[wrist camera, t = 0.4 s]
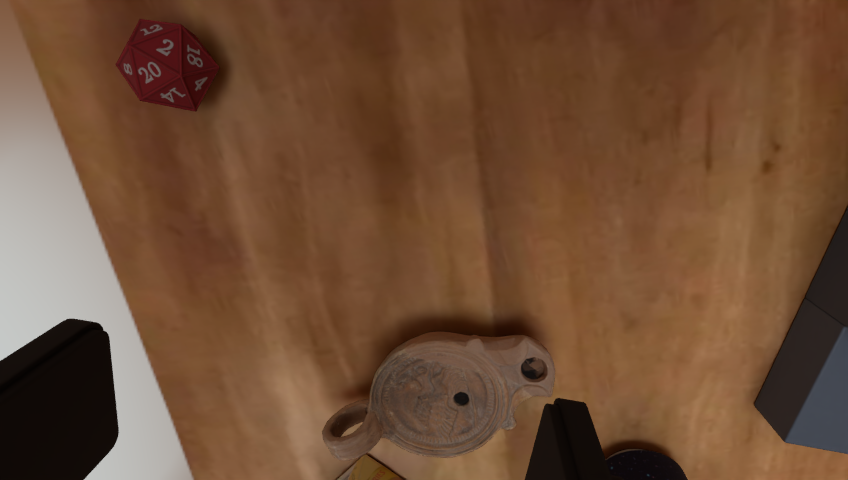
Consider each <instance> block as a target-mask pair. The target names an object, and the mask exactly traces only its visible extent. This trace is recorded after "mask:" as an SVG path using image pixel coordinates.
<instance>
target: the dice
mask: <svg viewBox="0 0 848 480" xmlns="http://www.w3.org/2000/svg"><path fill="white" fill-rule="evenodd" d="M116 66H117V67H118V69H119V70H120V72H121V73H122V75H123V76H124V78H125V79H126V81H127V82H128V84H129V85H130V86H131V88H132V89H133V91H134V92H135V94H136V95H137V97H138V98H139V100H140V101H145V102H150V103H155V104H160V105H165V106H170V107H175V108H180V109H185V110H190V111H197V108H198V106H199V105H200V103H201V101H202V99H203V97H204V95H205V94H206V92H207V90H208V88H209V86H210V84H211V83H212V81H213V79H214V77H215V75H216V73H217V72H218V70H219V69H220V67H219V66H218V65H217V64H216V62H215V61H214V60H213V58H212V57H211V56H210V54H209V53H208V52H207V50H206V49H205V48H204V46H203V45H202V44H201V42H200V41H199V40H198V38H197V37H196V36H195V35H194V34H193V33H191V32H190V31H189V30H187V29H186V28H185V27H184V26H182V25H181V24H174V23H167V22H159V21H151V20H144V19H139V21H138V24H137V25H136V27H135V29H134V31H133V33H132V35H131V37H130V39H129V41H128V42H127V44H126V46H125V48H124V50H123V52H122V54H121V56H120V58H119V59H118V61H117V63H116Z"/></svg>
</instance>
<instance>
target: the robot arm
mask: <svg viewBox="0 0 848 480" xmlns="http://www.w3.org/2000/svg"><path fill="white" fill-rule="evenodd" d="M117 437H118V420H117V410H116V401H115V391H114V381H113V371H112V362H111V352H110V341H109V336H108V334H107V332H105V331H103V327H102V326H101V325H100V324H99V323H96V322H90V321H84V320H78V319H67V320H65V321H63V322H61V323H59V324H58V325H56V326H55V327H53V328H52V329H50V330H48V331H47V332H46V333H44V334H42V335H41V336H39V337H37V338H36V339H34V340H33V341H31V342H29V343H28V344H26V345H25V346H23V347H22V348H20V349H18V350H17V351H15V352H14V353H12V354H11V355H9V356H8V357H6V358H4V359H3V360H1V361H0V480H84V479H85V478H86V476H87V475H88V474H89V473H90V472H91V471H92V470H93V469H94V468H95V467H96V466H97V465H98V464H99V462H100V461H101V460H102V459H103V458H104V457H105V456H106V455H107V454H108V453H109V451H110V450H111V449H112V448H113V447H114V445H115V443H116V440H117ZM525 480H624V479H623V478H622V477H618V476H612V475H611V474H610V471H609V468H608V465H607V462H606V460H605V457H604V454H603V451H602V448H601V445H600V442H599V439H598V437H597V434H596V431H595V428H594V425H593V422H592V419H591V416H590V414H589V411H588V408H587V406H586V404H585V403H584V402H579V401H573V400H567V399H561V398H557V399H556V400H555V401H554V404H546V405H545V406H544V409H543V413H542V417H541V421H540V425H539V428H538V432H537V436H536V440H535V443H534V447H533V451H532V455H531V459H530V462H529V466H528V470H527V474H526V477H525Z"/></svg>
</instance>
